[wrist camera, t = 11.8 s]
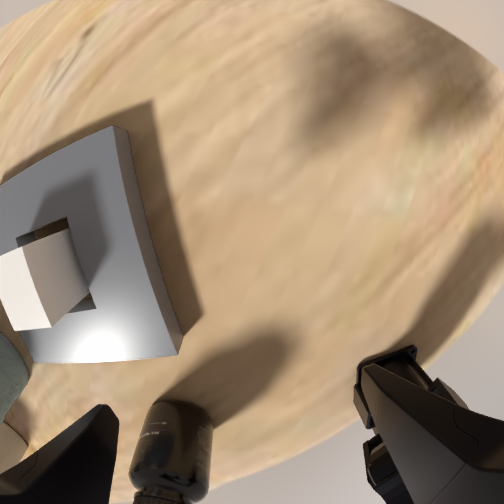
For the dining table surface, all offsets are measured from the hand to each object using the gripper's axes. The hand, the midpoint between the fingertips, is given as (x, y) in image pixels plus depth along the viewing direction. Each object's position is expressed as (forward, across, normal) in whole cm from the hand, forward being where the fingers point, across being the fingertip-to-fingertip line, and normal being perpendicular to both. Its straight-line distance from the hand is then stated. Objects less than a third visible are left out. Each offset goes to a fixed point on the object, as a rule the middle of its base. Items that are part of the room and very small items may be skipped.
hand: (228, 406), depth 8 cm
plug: (+12, +13, -4) cm, 18 cm away
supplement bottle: (+12, +9, +14) cm, 21 cm away
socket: (+12, +13, -4) cm, 18 cm away
